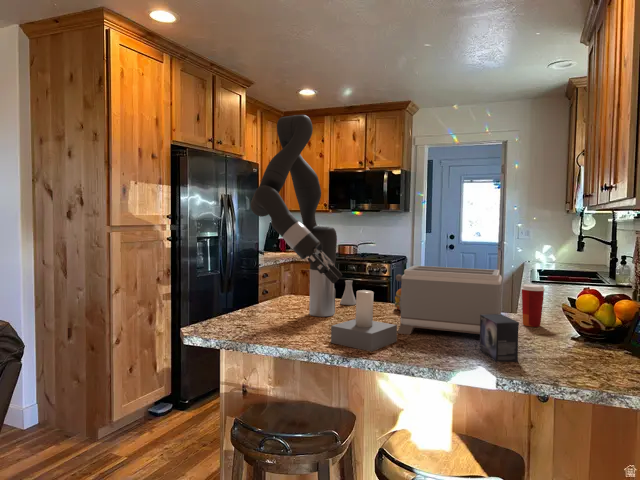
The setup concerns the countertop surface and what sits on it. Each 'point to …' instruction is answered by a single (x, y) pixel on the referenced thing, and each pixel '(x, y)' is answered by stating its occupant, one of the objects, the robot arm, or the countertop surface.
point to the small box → (499, 337)
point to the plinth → (364, 335)
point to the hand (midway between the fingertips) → (338, 279)
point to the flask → (348, 294)
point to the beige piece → (364, 308)
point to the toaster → (448, 298)
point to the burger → (398, 299)
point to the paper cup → (532, 304)
